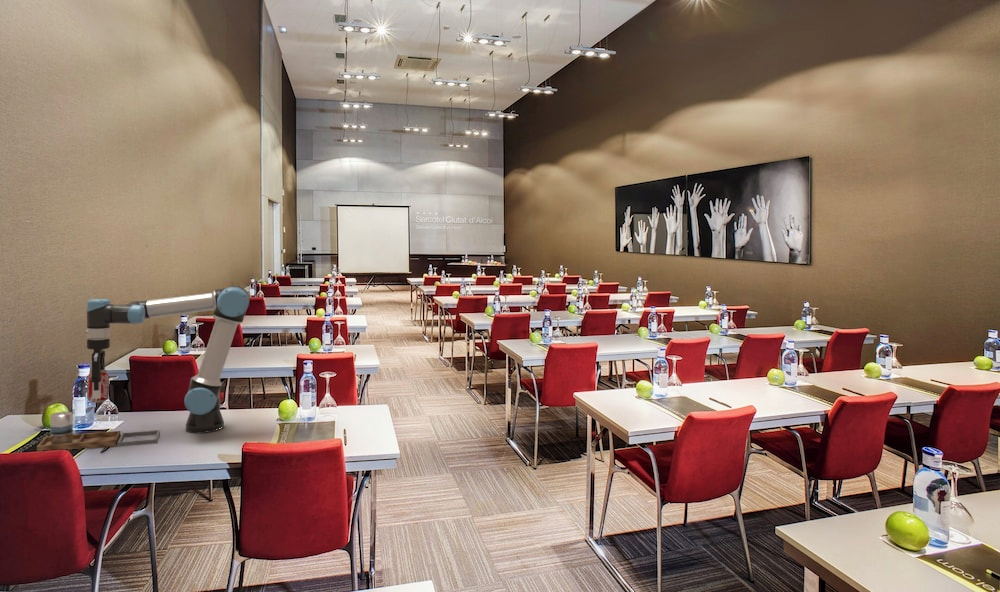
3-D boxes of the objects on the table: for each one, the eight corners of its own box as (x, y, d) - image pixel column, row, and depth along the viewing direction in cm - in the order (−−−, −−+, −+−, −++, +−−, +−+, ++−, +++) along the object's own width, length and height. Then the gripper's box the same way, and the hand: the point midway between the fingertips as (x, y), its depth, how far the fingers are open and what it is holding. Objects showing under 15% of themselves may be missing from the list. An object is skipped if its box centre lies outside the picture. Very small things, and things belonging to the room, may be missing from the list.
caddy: (120, 436, 253) (120, 430, 253) (116, 446, 241) (116, 440, 241) (45, 442, 243) (45, 436, 242) (36, 452, 231) (36, 446, 231)
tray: (159, 433, 259) (159, 430, 259) (157, 443, 247) (157, 439, 247) (122, 436, 254) (122, 432, 254) (117, 446, 241) (117, 442, 241)
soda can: (98, 403, 239) (98, 373, 238) (82, 402, 241) (82, 371, 240) (113, 399, 246) (113, 370, 245) (98, 398, 247) (98, 368, 247)
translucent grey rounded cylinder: (74, 441, 244) (74, 411, 243) (70, 446, 238) (70, 415, 237) (52, 442, 241) (52, 412, 240) (48, 448, 235) (48, 417, 234)
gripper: (91, 335, 249) (91, 391, 251) (82, 342, 231) (82, 402, 233) (113, 334, 252) (113, 390, 254) (105, 341, 234) (105, 401, 236)
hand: (98, 395), depth 243 cm, fingers closed on soda can, 7 cm apart
